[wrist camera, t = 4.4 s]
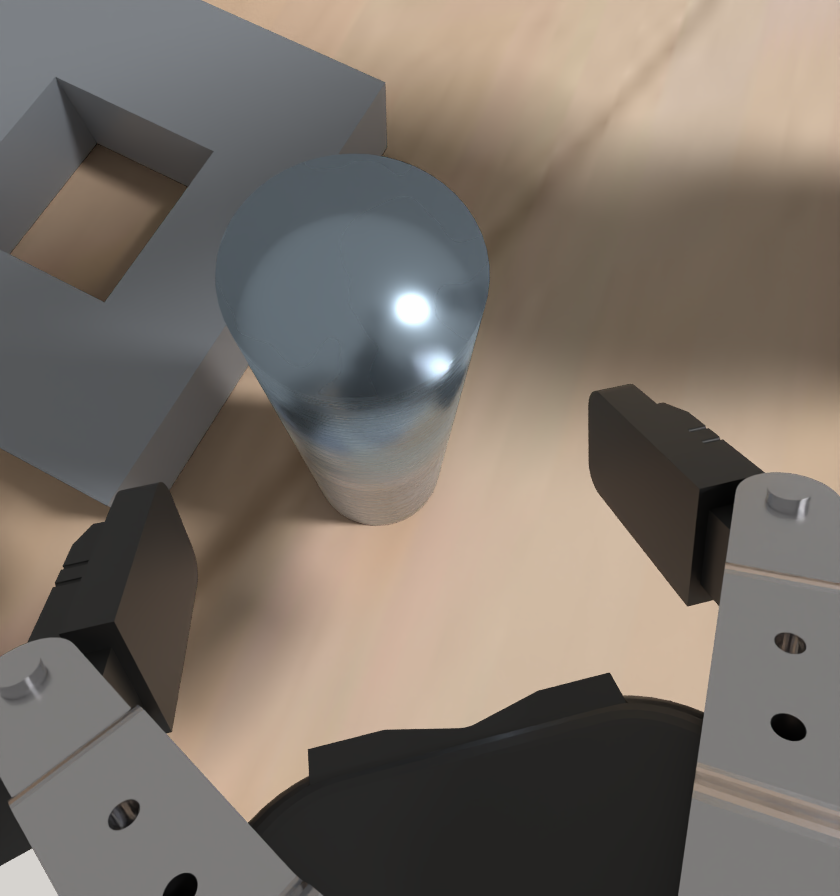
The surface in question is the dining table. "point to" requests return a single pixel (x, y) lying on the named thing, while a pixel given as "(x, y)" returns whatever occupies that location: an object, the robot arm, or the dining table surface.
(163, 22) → the socket stand
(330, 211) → the steel pin
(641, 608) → the dining table surface
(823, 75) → the dining table surface
